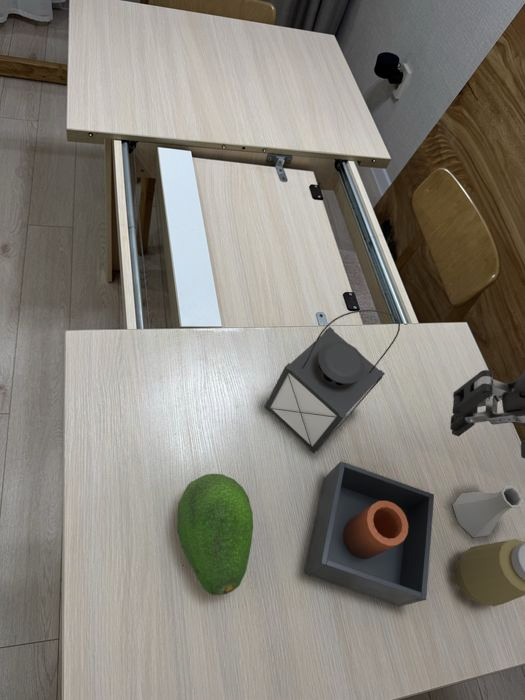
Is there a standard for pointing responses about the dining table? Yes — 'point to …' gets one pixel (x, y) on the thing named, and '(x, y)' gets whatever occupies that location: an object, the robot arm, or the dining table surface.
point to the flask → (484, 509)
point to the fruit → (216, 531)
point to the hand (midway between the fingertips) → (489, 439)
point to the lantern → (323, 386)
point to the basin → (387, 567)
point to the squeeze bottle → (493, 572)
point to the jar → (375, 530)
